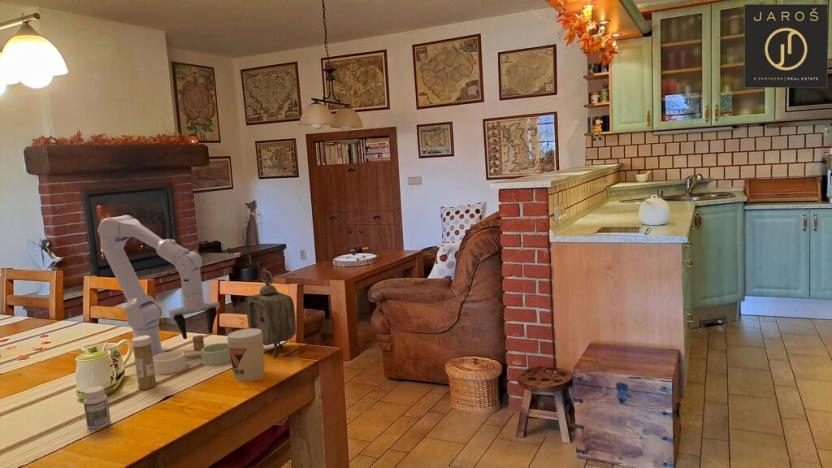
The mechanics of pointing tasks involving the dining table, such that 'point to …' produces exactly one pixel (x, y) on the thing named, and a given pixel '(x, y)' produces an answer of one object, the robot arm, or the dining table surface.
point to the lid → (195, 347)
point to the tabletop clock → (271, 314)
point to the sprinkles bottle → (144, 362)
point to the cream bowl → (169, 362)
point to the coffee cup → (246, 354)
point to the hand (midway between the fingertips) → (197, 335)
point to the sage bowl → (215, 354)
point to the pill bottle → (96, 407)
